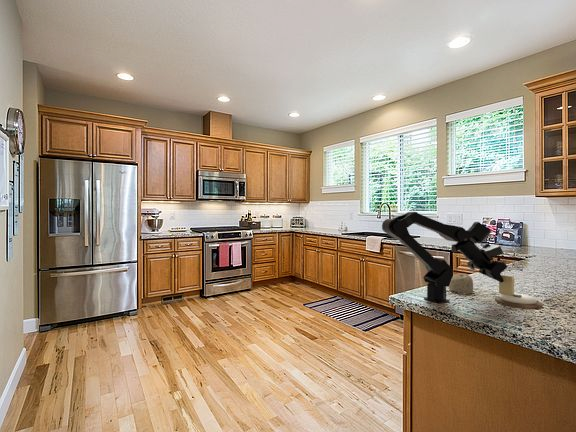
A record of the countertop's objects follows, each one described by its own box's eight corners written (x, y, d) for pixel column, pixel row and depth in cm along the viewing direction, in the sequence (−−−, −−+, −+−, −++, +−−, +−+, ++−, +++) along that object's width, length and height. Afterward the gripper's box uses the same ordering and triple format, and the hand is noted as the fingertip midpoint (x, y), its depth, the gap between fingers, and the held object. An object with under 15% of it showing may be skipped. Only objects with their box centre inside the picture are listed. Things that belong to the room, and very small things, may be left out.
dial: (526, 305, 105) (526, 281, 105) (491, 297, 115) (491, 275, 115) (543, 301, 110) (543, 278, 110) (508, 294, 120) (508, 273, 120)
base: (532, 311, 103) (532, 307, 103) (487, 301, 115) (487, 298, 115) (549, 304, 110) (549, 301, 110) (505, 295, 122) (505, 293, 122)
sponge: (470, 303, 126) (484, 283, 126) (451, 290, 126) (465, 270, 126) (458, 297, 135) (471, 278, 135) (440, 284, 135) (453, 266, 135)
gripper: (501, 239, 107) (535, 271, 106) (475, 235, 126) (504, 263, 124) (477, 261, 108) (510, 293, 107) (455, 254, 127) (483, 281, 125)
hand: (502, 281), depth 116 cm, fingers closed
